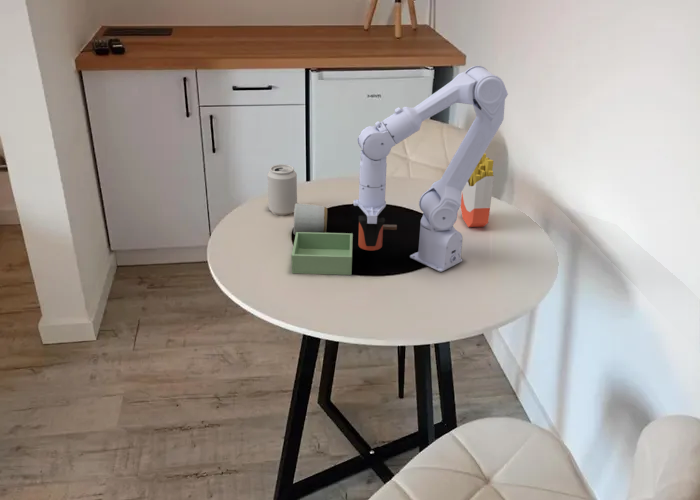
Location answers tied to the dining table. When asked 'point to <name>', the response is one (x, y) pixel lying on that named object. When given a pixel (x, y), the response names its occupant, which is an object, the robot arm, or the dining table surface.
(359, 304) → the dining table surface
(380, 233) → the pot
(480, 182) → the french fries container
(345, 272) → the drawer
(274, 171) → the can
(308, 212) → the ceramic mug
